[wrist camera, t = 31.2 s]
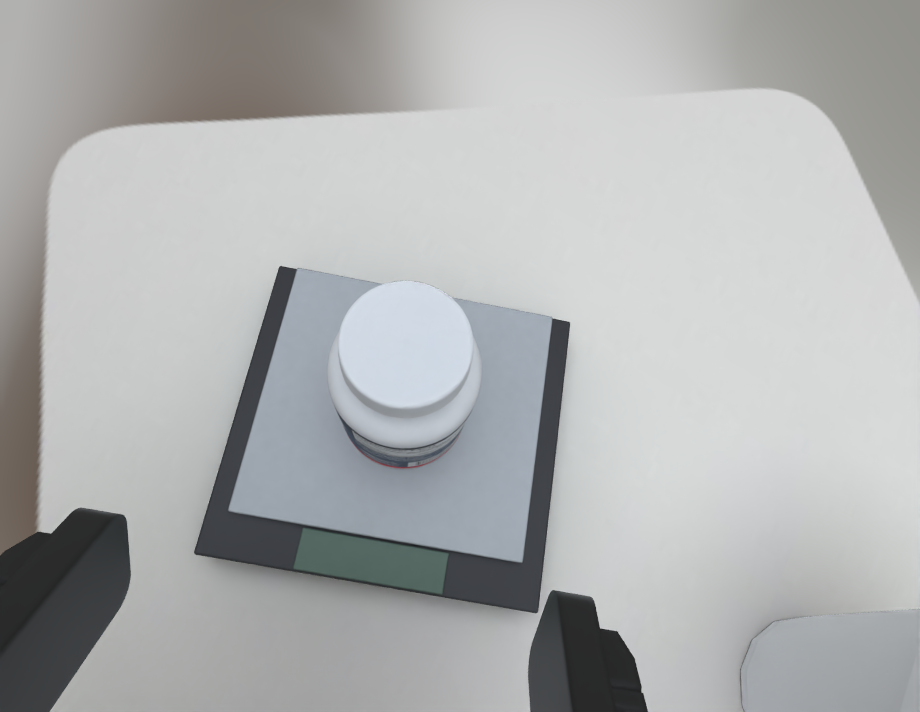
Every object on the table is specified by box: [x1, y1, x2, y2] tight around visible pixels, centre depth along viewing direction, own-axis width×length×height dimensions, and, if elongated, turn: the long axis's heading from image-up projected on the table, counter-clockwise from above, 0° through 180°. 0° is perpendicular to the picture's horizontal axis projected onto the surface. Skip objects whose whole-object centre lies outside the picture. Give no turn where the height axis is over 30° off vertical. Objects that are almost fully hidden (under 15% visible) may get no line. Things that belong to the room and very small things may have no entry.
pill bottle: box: [327, 281, 482, 469], centre depth 21 cm, size 5×5×9 cm
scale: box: [194, 266, 570, 613], centre depth 27 cm, size 14×13×3 cm
